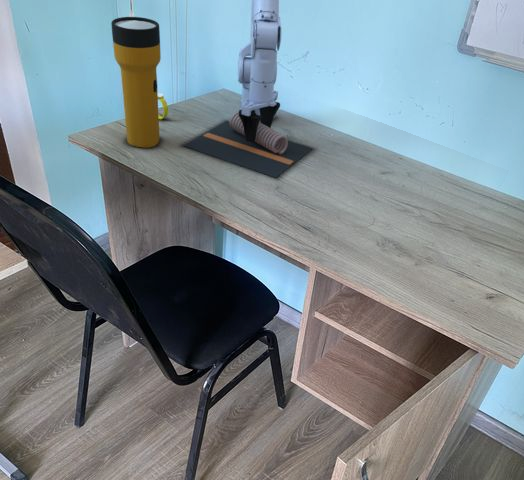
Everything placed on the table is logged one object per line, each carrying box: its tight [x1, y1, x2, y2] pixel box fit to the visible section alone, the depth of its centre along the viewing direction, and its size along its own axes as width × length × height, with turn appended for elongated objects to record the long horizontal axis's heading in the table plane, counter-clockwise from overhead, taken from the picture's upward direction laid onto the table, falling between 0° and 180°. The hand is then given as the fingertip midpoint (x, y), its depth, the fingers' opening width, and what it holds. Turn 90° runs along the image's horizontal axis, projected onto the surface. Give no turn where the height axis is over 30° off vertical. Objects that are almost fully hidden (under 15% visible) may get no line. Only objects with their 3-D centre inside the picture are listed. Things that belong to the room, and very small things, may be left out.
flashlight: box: [111, 16, 162, 149], centre depth 122 cm, size 10×26×10 cm
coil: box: [229, 111, 289, 155], centre depth 135 cm, size 5×5×18 cm
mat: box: [182, 120, 314, 179], centre depth 134 cm, size 20×26×1 cm
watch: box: [158, 92, 169, 121], centre depth 140 cm, size 6×3×6 cm, turn 52°
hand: (257, 136), depth 135 cm, fingers open, 7 cm apart
